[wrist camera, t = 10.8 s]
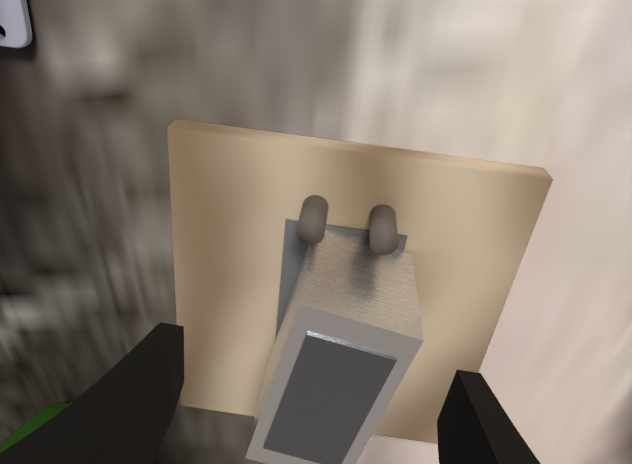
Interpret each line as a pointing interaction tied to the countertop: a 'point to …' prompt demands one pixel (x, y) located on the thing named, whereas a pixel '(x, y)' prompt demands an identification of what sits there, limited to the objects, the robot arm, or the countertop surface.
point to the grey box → (337, 353)
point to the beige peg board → (309, 229)
